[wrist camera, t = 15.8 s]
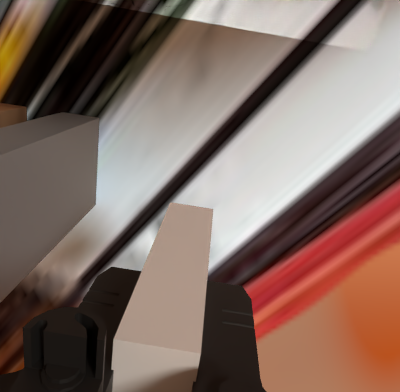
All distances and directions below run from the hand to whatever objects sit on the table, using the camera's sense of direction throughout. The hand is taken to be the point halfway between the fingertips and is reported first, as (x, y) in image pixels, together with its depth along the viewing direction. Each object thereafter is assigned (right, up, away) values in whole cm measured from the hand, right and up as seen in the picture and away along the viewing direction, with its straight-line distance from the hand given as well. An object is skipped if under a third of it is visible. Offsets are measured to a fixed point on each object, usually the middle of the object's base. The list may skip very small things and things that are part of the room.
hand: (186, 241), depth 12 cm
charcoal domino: (-6, +4, +7) cm, 10 cm away
